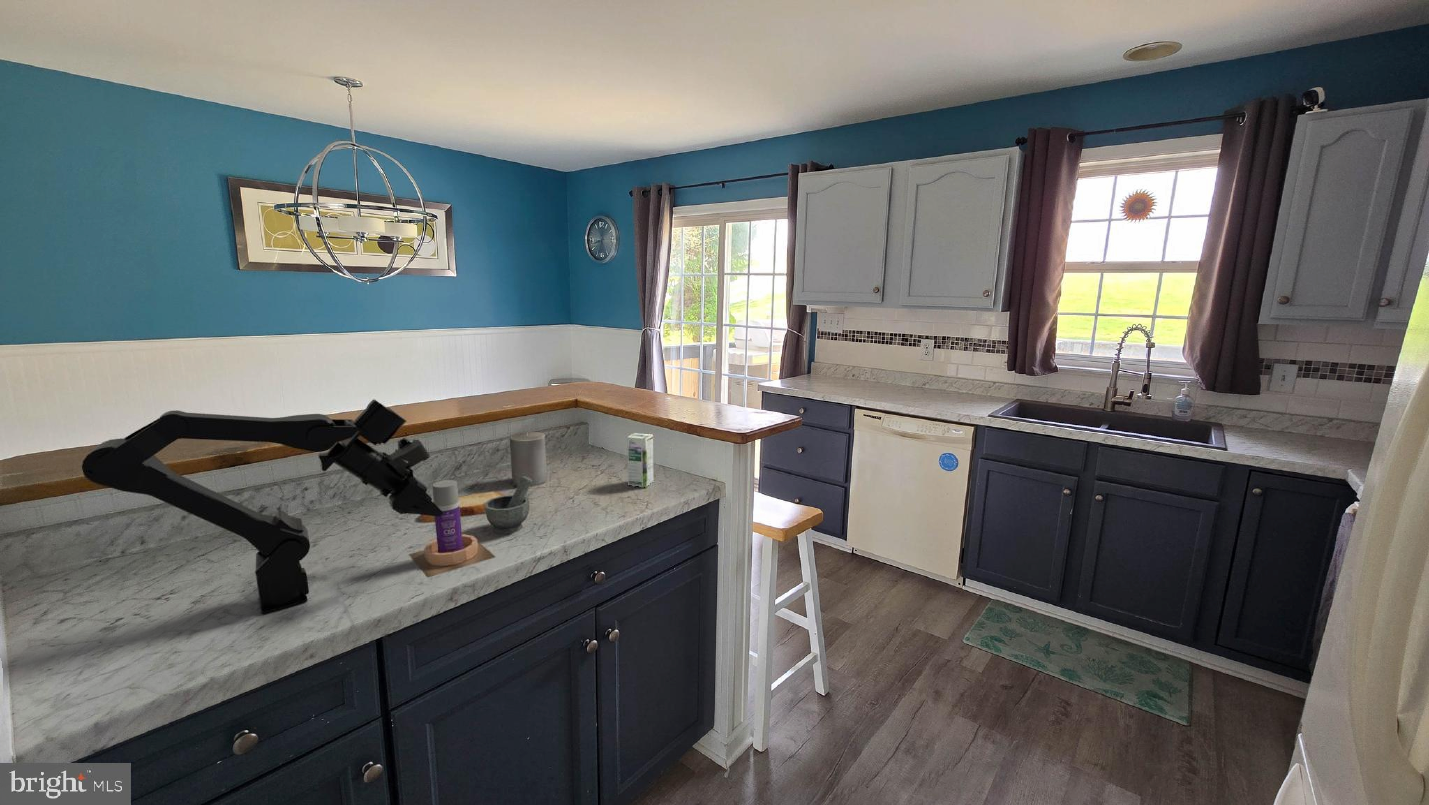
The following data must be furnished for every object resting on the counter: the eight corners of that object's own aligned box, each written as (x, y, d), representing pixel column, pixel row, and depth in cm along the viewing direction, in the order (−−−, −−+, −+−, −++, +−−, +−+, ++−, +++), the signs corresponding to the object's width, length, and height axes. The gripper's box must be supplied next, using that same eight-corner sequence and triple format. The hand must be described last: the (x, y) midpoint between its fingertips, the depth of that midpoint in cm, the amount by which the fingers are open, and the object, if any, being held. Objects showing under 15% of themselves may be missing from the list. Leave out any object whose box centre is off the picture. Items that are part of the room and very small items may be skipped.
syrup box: (627, 486, 162) (626, 436, 160) (636, 480, 168) (635, 431, 165) (646, 488, 161) (645, 438, 158) (654, 481, 166) (653, 433, 164)
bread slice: (412, 522, 137) (410, 507, 136) (462, 496, 154) (461, 483, 154) (476, 530, 133) (475, 515, 132) (521, 503, 150) (520, 489, 149)
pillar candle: (512, 477, 169) (509, 428, 166) (547, 474, 172) (544, 426, 169) (511, 488, 160) (508, 437, 157) (548, 485, 163) (545, 434, 160)
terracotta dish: (434, 571, 111) (433, 559, 111) (420, 554, 118) (419, 543, 118) (484, 556, 118) (483, 545, 117) (467, 541, 125) (467, 530, 124)
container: (446, 560, 115) (439, 489, 112) (433, 554, 117) (426, 484, 114) (467, 551, 118) (462, 482, 115) (455, 546, 121) (449, 478, 118)
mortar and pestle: (496, 543, 125) (492, 490, 123) (479, 530, 132) (475, 480, 130) (543, 529, 133) (541, 479, 131) (525, 517, 139) (522, 470, 137)
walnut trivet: (428, 579, 109) (427, 577, 109) (409, 556, 119) (409, 554, 118) (495, 559, 118) (495, 556, 117) (473, 539, 127) (473, 537, 127)
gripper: (408, 439, 101) (477, 487, 110) (390, 420, 116) (452, 464, 124) (360, 490, 98) (435, 535, 106) (348, 464, 112) (415, 506, 121)
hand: (435, 507), depth 115 cm, fingers open, 9 cm apart
